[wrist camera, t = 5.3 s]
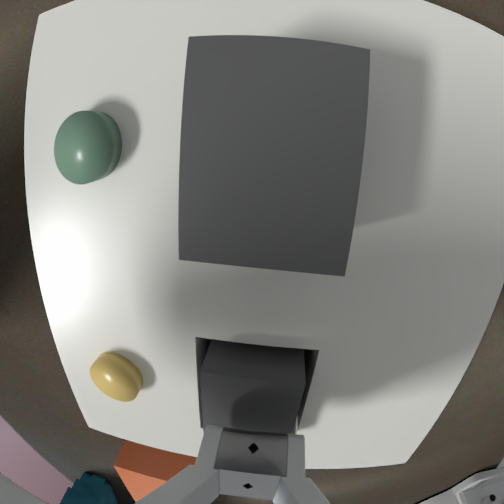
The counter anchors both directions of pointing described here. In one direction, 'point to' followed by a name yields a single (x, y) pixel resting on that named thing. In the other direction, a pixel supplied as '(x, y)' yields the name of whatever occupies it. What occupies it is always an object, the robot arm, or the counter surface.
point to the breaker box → (256, 279)
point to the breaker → (271, 152)
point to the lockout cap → (148, 467)
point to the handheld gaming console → (90, 491)
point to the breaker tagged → (252, 386)
